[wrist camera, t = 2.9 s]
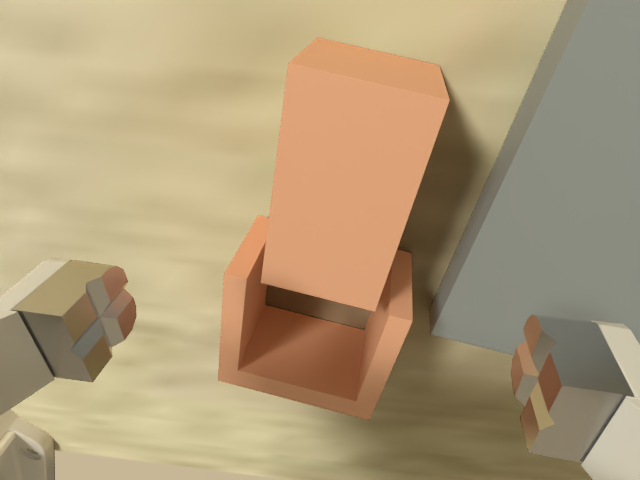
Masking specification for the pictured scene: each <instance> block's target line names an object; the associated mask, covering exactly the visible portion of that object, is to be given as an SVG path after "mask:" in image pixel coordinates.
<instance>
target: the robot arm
mask: <svg viewBox="0 0 640 480" xmlns="http://www.w3.org/2000/svg"><path fill="white" fill-rule="evenodd" d="M127 282H128V280H127V278H126V275H125V272H124V270H123V269H122V268H119V267H117V266H113V265H106V264H99V263H92V262H84V261H77V260H74V261H73V260H67V259H60V258H51V259H47V260H44V261H43V262H42V263H41V264H40V265H38V266H37V267H36V268H35V269H33V270H32V271H31V272H30V273H28V274H27V275H26V276H25V277H24V278H22V279H21V280H20V281H19V282H17V283H16V284H15V285H14V286H13V287H11V288H10V289H9V290H8V291H6V292H5V293H4V294H3V295H1V296H0V480H55V456H54V455H55V451H54V441H53V439H52V437H51V436H50V435H49V434H48V433H46V432H45V431H44V430H42V429H40V428H39V427H37V426H35V425H34V424H32V423H30V422H29V421H27V420H25V419H23V418H21V417H20V416H18V415H17V414H15V413H14V412H13V411H11V410H10V409H11V408H12V407H14V406H15V405H17V404H18V403H20V402H21V401H23V400H24V399H26V398H27V397H29V396H30V395H32V394H33V393H35V392H36V391H38V390H39V389H41V388H42V387H44V386H45V385H47V384H48V383H50V382H51V381H53V380H54V377H57V378H65V379H72V380H80V381H87V382H93V381H94V380H95V379H96V377H97V376H98V375H99V373H100V372H101V371H102V369H103V368H104V367H105V365H106V364H107V363H108V362H109V360H110V359H111V358H112V347H113V346H115V345H117V344H118V343H120V342H122V341H124V340H125V339H126V337H127V336H128V335H129V333H130V332H131V330H132V328H133V325H134V322H135V319H136V305H135V301H134V298H133V297H132V296H131V295H130V294H129V293H128V292H127V291H126V290H125V289H124V288H125V286H126V284H127ZM523 331H524V335H525V338H526V341H525V342H523V343H522V344H520V345H518V346H517V347H516V350H515V353H514V356H513V359H512V370H511V377H512V386H513V390H514V395H515V397H516V398H517V399H518V400H519V401H520V402H521V403H522V404H523V405H524V407H525V408H524V410H523V412H522V415H521V417H520V420H521V424H522V428H523V432H524V436H525V440H526V445H527V449H528V453H531V454H536V455H542V456H547V457H552V458H558V459H563V460H568V461H574V462H579V463H582V465H581V466H582V467H583V468H584V470H585V471H586V472H587V473H588V475H589V476H590V477H591V478H592V480H640V345H639V343H638V341H637V340H636V338H635V336H634V335H633V333H632V331H631V330H630V328H629V327H627V326H626V325H624V324H622V323H612V322H602V321H587V320H578V319H569V318H560V317H551V316H541V315H531V316H530V317H529V318H528V319H527V321H526V323H525V326H524V328H523Z"/></svg>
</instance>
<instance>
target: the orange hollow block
mask: <svg viewBox="0 0 640 480" xmlns="http://www.w3.org/2000/svg"><path fill="white" fill-rule="evenodd" d="M449 101H450V99H449V96H448V92H447V89H446V86H445V83H444V79H443V76H442V73H441V69H440V66H439V65H435V64H431V63H426V62H422V61H418V60H413V59H409V58H404V57H400V56H396V55H391V54H387V53H382V52H378V51H374V50H369V49H365V48H360V47H356V46H352V45H347V44H343V43H338V42H334V41H330V40H325V39H321V38H316V39H315V40H314V41H313V42H312V43H311V44H309V45H308V46H307V47H306V48H305V49H304V50H303V51H301V52H300V53H299V54H298V55H297V56H296V57H295V58H293V59H292V60H291V61H290V62H289V63H288V70H287V78H286V85H285V93H284V101H283V109H282V117H281V125H280V133H279V141H278V149H277V157H276V165H275V173H274V181H273V189H272V197H271V205H270V213H269V218H267V217H263V216H259V215H258V216H257V218H256V220H255V221H254V223H253V225H252V226H251V228H250V230H249V232H248V233H247V235H246V237H245V238H244V240H243V242H242V244H241V245H240V247H239V249H238V251H237V252H236V254H235V256H234V257H233V259H232V261H231V263H230V264H229V266H228V268H227V269H226V271H225V273H224V284H223V302H222V319H221V336H220V354H219V371H218V380H219V381H222V382H226V383H230V384H234V385H237V386H241V387H245V388H249V389H253V390H256V391H260V392H264V393H268V394H272V395H275V396H279V397H283V398H287V399H291V400H294V401H298V402H302V403H306V404H309V405H313V406H317V407H321V408H325V409H328V410H332V411H336V412H340V413H344V414H347V415H351V416H355V417H359V418H362V419H366V420H370V418H371V416H372V414H373V411H374V409H375V407H376V404H377V402H378V400H379V397H380V395H381V393H382V391H383V388H384V386H385V384H386V381H387V379H388V377H389V374H390V372H391V370H392V368H393V365H394V363H395V361H396V358H397V356H398V354H399V351H400V349H401V347H402V345H403V342H404V340H405V338H406V335H407V333H408V331H409V328H410V326H411V324H412V322H413V311H412V253H409V252H405V251H401V250H397V248H398V245H399V242H400V239H401V237H402V234H403V231H404V228H405V225H406V223H407V220H408V217H409V214H410V211H411V208H412V206H413V203H414V200H415V197H416V194H417V191H418V189H419V186H420V183H421V180H422V177H423V174H424V172H425V169H426V166H427V163H428V160H429V158H430V155H431V152H432V149H433V146H434V143H435V141H436V138H437V135H438V132H439V129H440V126H441V124H442V121H443V118H444V115H445V112H446V109H447V107H448V104H449ZM267 284H268V285H272V286H275V287H279V288H283V289H287V290H291V291H295V292H299V293H303V294H307V295H311V296H315V297H319V298H323V299H327V300H331V301H335V302H339V303H343V304H347V305H351V306H354V307H358V308H362V309H366V310H370V311H371V313H370V316H369V319H368V321H367V324H366V327H365V330H362V329H358V328H354V327H350V326H346V325H342V324H338V323H335V322H331V321H327V320H323V319H319V318H315V317H311V316H307V315H303V314H299V313H295V312H291V311H288V310H284V309H280V308H276V307H272V306H268V305H265V299H266V291H267Z"/></svg>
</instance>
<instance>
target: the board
mask: <svg viewBox="0 0 640 480" xmlns="http://www.w3.org/2000/svg"><path fill="white" fill-rule="evenodd" d="M531 315H541V316H551V317H560V318H569V319H578V320H587V321H602V322H612V323H622V324H624V325H626V326H627V327H629V328H630V330H631V331H632V333H633V335H634V336H635V338H636V340H637V341H638V343H639V345H640V0H568V1H567V3H566V5H565V8H564V10H563V12H562V14H561V16H560V19H559V21H558V23H557V25H556V28H555V30H554V32H553V34H552V37H551V39H550V41H549V43H548V46H547V48H546V50H545V52H544V55H543V57H542V59H541V61H540V63H539V66H538V68H537V70H536V72H535V75H534V77H533V79H532V81H531V84H530V86H529V88H528V90H527V93H526V95H525V97H524V99H523V101H522V104H521V106H520V108H519V110H518V113H517V115H516V117H515V119H514V122H513V124H512V126H511V128H510V131H509V133H508V135H507V137H506V139H505V142H504V144H503V146H502V148H501V151H500V153H499V155H498V157H497V160H496V162H495V164H494V166H493V169H492V171H491V173H490V175H489V177H488V180H487V182H486V184H485V186H484V189H483V191H482V193H481V195H480V198H479V200H478V202H477V204H476V207H475V209H474V211H473V213H472V215H471V218H470V220H469V222H468V224H467V227H466V229H465V231H464V233H463V236H462V238H461V240H460V242H459V245H458V247H457V249H456V251H455V253H454V256H453V258H452V260H451V262H450V265H449V267H448V269H447V271H446V274H445V276H444V278H443V280H442V283H441V285H440V287H439V289H438V292H437V294H436V296H435V298H434V300H433V303H432V305H431V307H430V309H429V316H430V331H431V335H435V336H439V337H443V338H447V339H451V340H455V341H459V342H463V343H467V344H471V345H475V346H479V347H483V348H487V349H491V350H495V351H499V352H503V353H507V354H511V355H514V353H515V350H516V347H517V346H518V345H520V344H522V343H523V342H525V341H526V338H525V335H524V331H523V328H524V326H525V323H526V321H527V319H528V318H529V317H530V316H531Z"/></svg>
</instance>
